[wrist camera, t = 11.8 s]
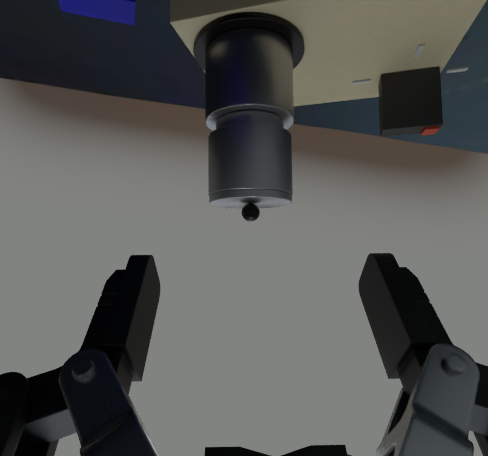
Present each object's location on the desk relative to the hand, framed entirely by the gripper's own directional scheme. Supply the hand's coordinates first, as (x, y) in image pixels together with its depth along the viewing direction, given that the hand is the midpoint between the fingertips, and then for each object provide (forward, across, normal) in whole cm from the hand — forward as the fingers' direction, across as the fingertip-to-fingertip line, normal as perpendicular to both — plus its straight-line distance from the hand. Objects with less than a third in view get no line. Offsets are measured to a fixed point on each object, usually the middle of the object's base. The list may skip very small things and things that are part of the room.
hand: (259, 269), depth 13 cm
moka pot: (+18, 0, -2) cm, 18 cm away
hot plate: (+20, -6, -4) cm, 21 cm away
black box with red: (+19, -13, -1) cm, 23 cm away
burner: (+17, 0, -4) cm, 17 cm away
